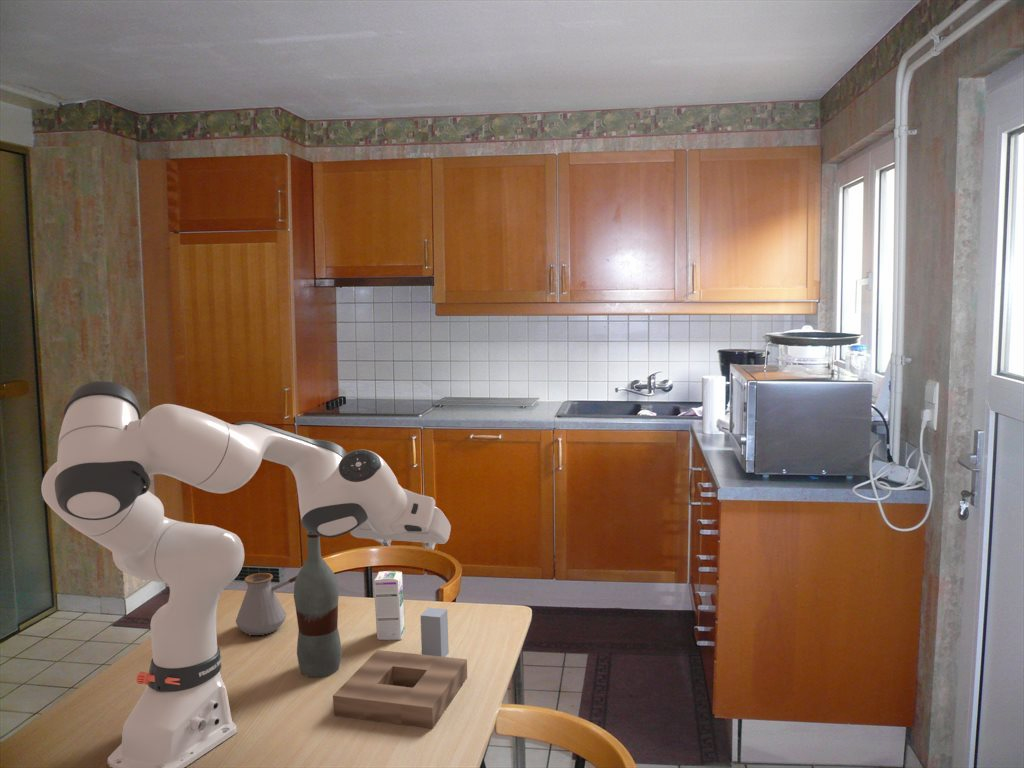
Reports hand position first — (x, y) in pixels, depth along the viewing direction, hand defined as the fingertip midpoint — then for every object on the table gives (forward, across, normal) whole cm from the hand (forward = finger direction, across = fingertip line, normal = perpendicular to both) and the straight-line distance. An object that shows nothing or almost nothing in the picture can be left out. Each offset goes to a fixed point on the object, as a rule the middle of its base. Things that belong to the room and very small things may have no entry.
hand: (409, 544), depth 165 cm
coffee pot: (+34, -41, -8) cm, 54 cm away
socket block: (+17, 0, -24) cm, 30 cm away
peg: (+29, 0, -12) cm, 32 cm away
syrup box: (+35, -14, -6) cm, 38 cm away
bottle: (+22, -22, -20) cm, 37 cm away
